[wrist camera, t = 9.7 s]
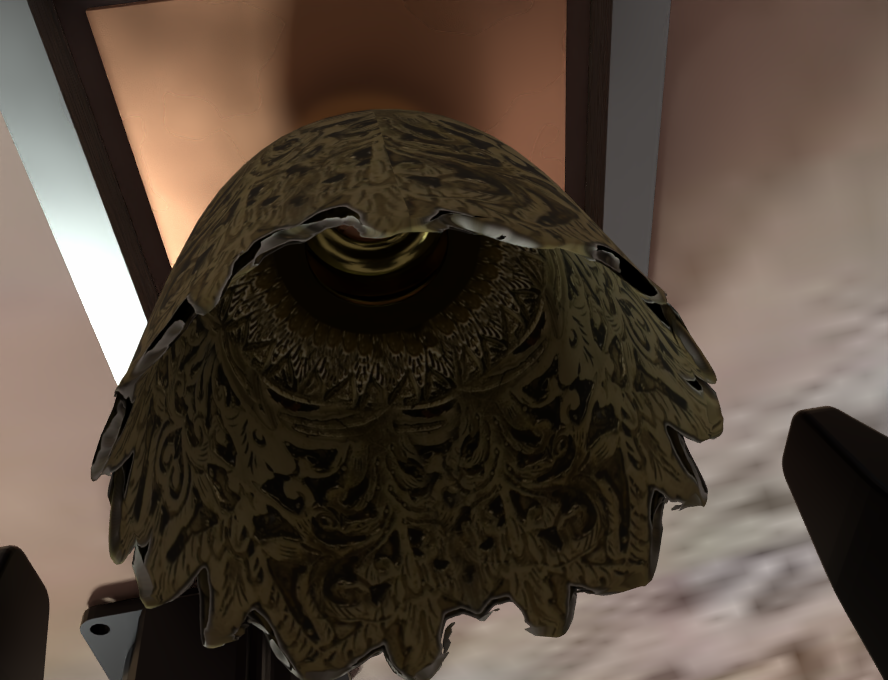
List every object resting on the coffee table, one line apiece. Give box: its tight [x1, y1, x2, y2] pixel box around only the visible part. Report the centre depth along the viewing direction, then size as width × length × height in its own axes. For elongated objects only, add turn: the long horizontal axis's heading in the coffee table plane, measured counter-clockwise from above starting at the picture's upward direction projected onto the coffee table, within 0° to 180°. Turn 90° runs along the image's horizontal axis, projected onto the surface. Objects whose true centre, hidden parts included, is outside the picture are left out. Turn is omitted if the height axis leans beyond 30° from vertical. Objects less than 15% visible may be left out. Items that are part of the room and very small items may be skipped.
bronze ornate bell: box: [91, 109, 723, 680], centre depth 13 cm, size 8×7×8 cm
